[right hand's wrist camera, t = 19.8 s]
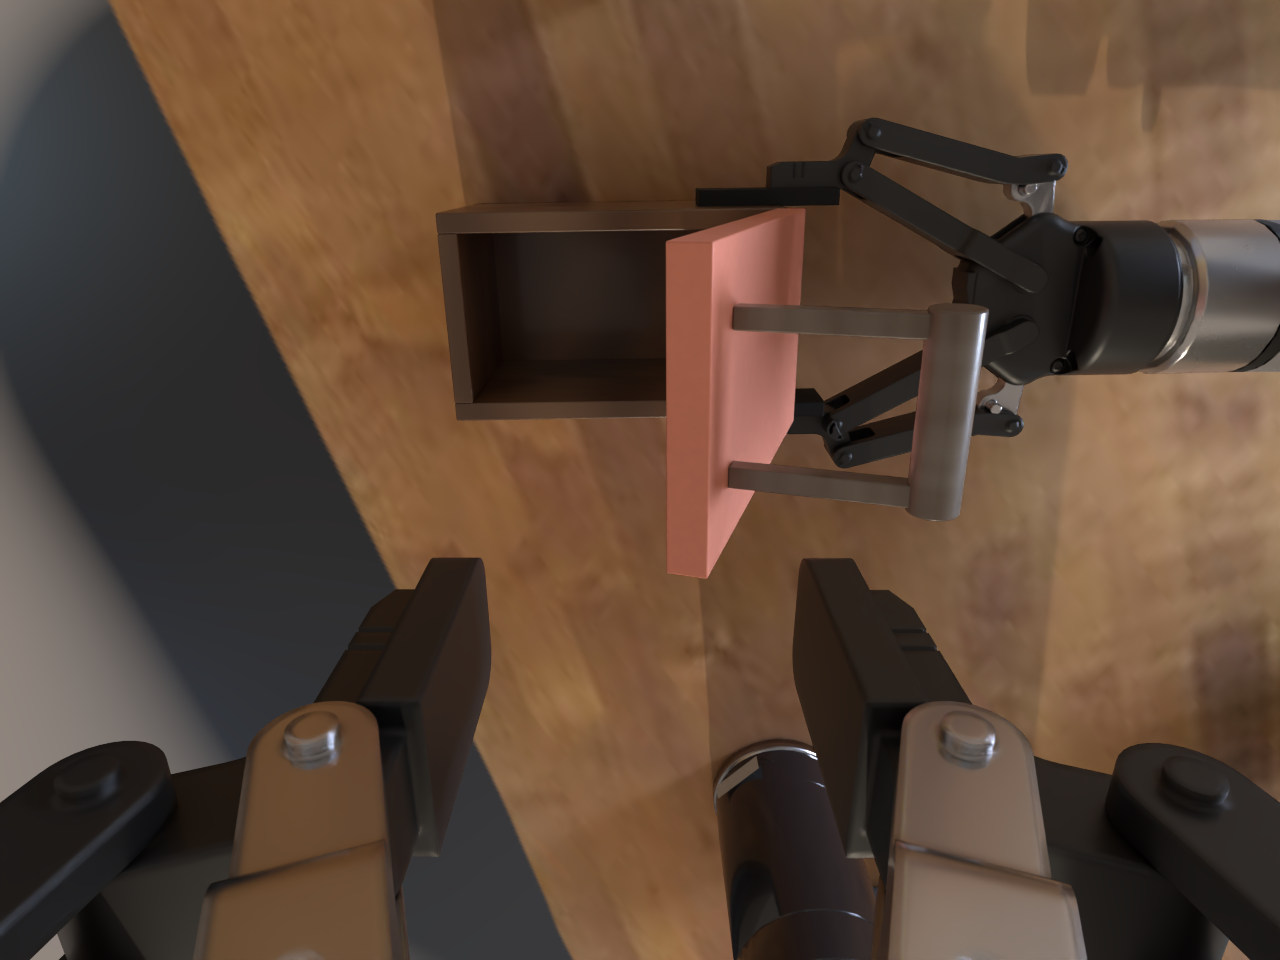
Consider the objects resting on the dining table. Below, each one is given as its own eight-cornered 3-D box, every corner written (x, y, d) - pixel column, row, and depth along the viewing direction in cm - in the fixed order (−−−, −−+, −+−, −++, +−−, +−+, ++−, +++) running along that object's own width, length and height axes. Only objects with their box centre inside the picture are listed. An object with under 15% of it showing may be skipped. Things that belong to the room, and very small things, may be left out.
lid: (666, 573, 24) (953, 616, 21) (665, 240, 20) (1008, 245, 18) (766, 419, 38) (946, 434, 36) (776, 208, 35) (975, 208, 32)
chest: (491, 371, 48) (456, 421, 39) (477, 203, 44) (434, 213, 35) (751, 368, 48) (777, 416, 38) (757, 199, 44) (788, 207, 35)
